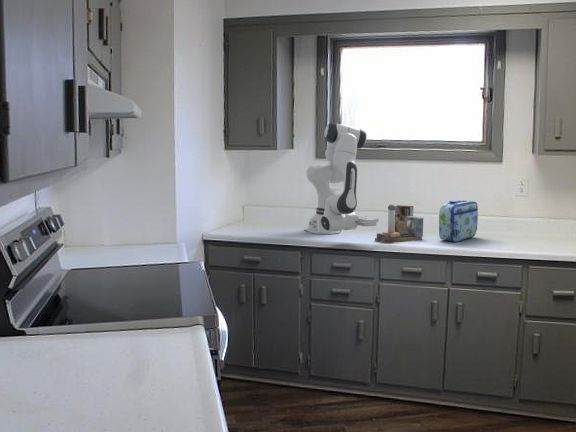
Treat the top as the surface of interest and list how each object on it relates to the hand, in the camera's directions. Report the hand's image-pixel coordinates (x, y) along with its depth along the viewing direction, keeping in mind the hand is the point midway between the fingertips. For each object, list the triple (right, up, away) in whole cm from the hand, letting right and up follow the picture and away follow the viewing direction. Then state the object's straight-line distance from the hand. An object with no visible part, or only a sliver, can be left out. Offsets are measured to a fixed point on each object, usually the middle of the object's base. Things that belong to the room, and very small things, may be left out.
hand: (371, 218), depth 321 cm
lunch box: (+48, -11, +13) cm, 51 cm away
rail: (+16, -11, +10) cm, 22 cm away
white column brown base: (+11, -9, +7) cm, 16 cm away
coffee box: (+21, -9, +28) cm, 37 cm away
